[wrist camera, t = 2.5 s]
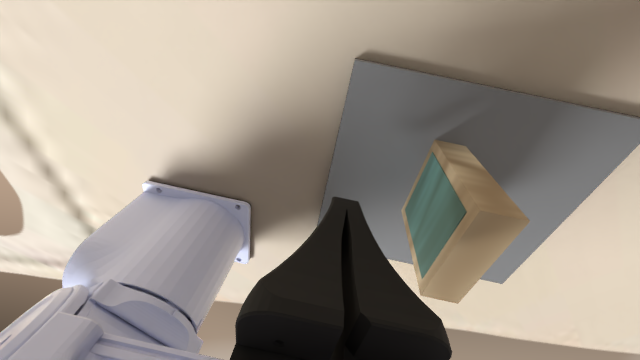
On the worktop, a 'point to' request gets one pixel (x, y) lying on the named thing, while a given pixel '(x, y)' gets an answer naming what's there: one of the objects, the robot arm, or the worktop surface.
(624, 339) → the worktop surface
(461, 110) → the mat
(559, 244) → the worktop surface
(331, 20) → the worktop surface
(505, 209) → the wooden block
